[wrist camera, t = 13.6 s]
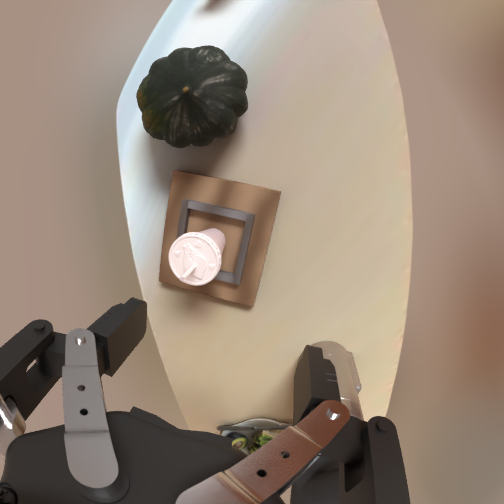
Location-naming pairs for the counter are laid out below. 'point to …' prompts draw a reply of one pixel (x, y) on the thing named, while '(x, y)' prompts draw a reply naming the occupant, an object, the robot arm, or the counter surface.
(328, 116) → the counter surface
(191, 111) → the squash
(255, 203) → the base board
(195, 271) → the smoothie
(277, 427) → the salad plate
